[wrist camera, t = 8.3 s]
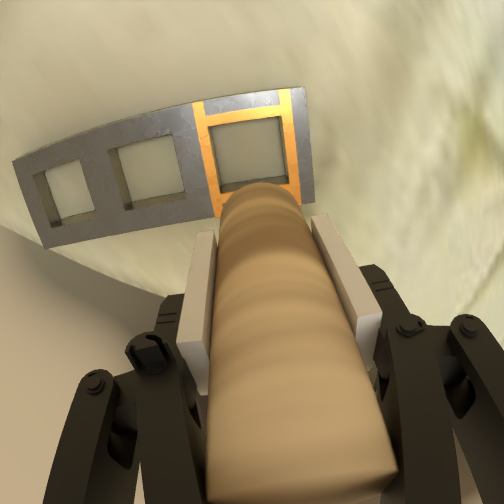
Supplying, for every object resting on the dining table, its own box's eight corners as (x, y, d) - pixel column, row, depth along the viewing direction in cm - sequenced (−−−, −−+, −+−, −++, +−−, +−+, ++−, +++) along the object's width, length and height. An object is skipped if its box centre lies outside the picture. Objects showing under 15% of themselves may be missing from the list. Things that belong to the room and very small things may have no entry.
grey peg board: (23, 155, 30) (10, 162, 27) (299, 86, 29) (304, 87, 26) (53, 239, 36) (43, 250, 34) (310, 193, 35) (315, 203, 33)
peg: (213, 189, 16) (175, 485, 4) (298, 177, 16) (426, 446, 4) (228, 260, 18) (227, 522, 7) (303, 249, 18) (379, 499, 6)
